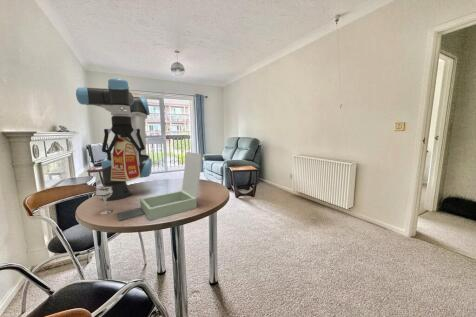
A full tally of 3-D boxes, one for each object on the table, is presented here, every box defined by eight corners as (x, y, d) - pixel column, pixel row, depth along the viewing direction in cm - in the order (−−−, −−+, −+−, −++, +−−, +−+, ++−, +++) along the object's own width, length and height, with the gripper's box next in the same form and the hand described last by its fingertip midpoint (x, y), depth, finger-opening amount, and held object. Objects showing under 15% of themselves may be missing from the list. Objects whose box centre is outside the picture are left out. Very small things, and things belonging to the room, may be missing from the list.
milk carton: (127, 181, 85) (123, 134, 82) (109, 180, 87) (105, 134, 84) (142, 176, 94) (138, 134, 91) (125, 176, 95) (121, 134, 93)
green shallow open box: (140, 208, 100) (139, 199, 99) (182, 199, 113) (182, 190, 112) (150, 220, 86) (149, 209, 85) (196, 208, 99) (196, 198, 98)
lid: (186, 151, 112) (188, 152, 113) (182, 190, 112) (184, 190, 113) (201, 154, 98) (203, 154, 99) (196, 198, 98) (198, 197, 99)
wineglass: (118, 209, 99) (115, 186, 97) (106, 215, 92) (104, 190, 90) (106, 209, 100) (103, 186, 98) (94, 214, 93) (91, 189, 92)
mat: (116, 214, 93) (116, 212, 93) (139, 208, 99) (139, 207, 99) (119, 221, 85) (119, 219, 85) (144, 215, 91) (144, 213, 91)
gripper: (90, 114, 77) (96, 170, 80) (150, 116, 90) (153, 164, 93) (89, 115, 83) (95, 168, 86) (146, 117, 96) (149, 163, 99)
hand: (125, 166), depth 89 cm, fingers closed on milk carton, 9 cm apart
